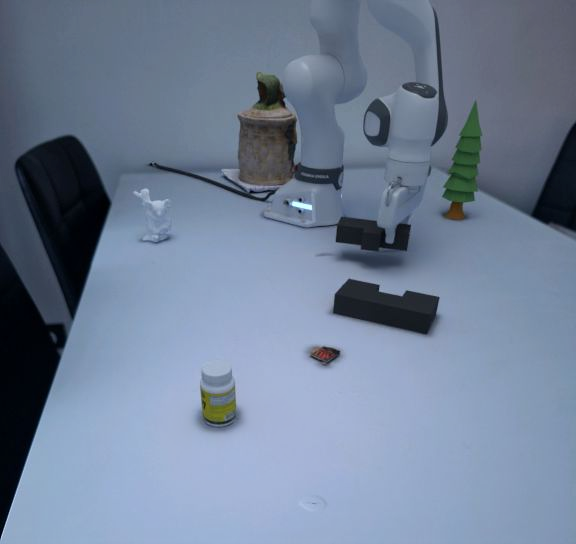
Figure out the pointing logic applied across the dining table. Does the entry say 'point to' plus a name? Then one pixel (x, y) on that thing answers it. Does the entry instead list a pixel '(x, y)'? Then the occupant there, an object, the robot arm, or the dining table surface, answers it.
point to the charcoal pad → (386, 306)
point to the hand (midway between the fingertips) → (395, 236)
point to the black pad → (370, 234)
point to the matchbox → (324, 353)
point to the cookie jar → (265, 140)
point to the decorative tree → (464, 167)
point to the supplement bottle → (218, 393)
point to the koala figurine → (155, 216)
